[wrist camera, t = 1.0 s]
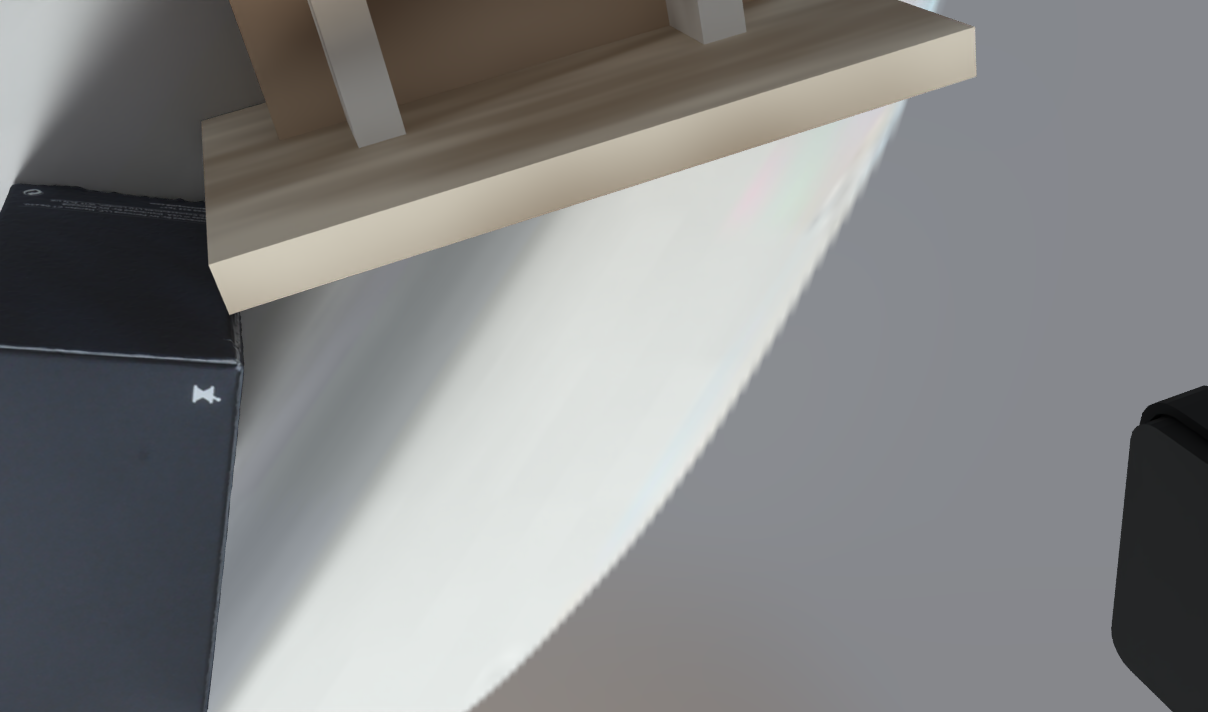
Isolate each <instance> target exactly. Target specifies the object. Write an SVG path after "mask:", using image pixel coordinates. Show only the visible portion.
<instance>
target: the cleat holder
mask: <svg viewBox="0 0 1208 712" xmlns="http://www.w3.org/2000/svg"><path fill="white" fill-rule="evenodd" d="M229 2H230V5H231V8H232V10H233V13H234V16H235V19H236V21H237V24H238V27H239V30H240V32H241V35H242V38H243V41H244V43H245V46H246V49H247V52H248V55H249V57H250V60H251V63H252V66H253V68H254V71H255V74H256V77H257V79H258V82H259V85H260V88H261V90H262V93H263V96H264V99H265V101H266V102H265V103H262V104H259V105H255V106H252V107H248V108H245V109H241V110H238V111H234V112H231V113H227V114H224V115H220V116H217V117H214V118H210V119H207V120H203V121H201V127H202V146H203V166H204V186H205V206H206V225H207V245H208V265H209V267H210V270H211V272H212V274H213V277H214V279H215V281H216V284H217V286H218V289H219V291H220V293H221V296H222V298H223V301H224V303H225V305H226V308H227V310H228V312H229V315H230V314H233V313H237V312H240V311H243V310H246V309H249V308H252V307H255V306H259V305H262V304H265V303H268V302H271V301H274V300H277V299H281V298H284V297H287V296H290V295H293V294H296V293H299V292H302V291H306V290H309V289H312V288H315V287H318V286H321V285H324V284H328V283H331V282H334V281H337V280H340V279H343V278H346V277H349V276H353V275H356V274H359V273H362V272H365V271H368V270H371V269H375V268H378V267H381V266H384V265H387V264H390V263H393V262H396V261H400V260H403V259H406V258H409V257H412V256H415V255H418V254H422V253H425V252H428V251H431V250H434V249H437V248H440V247H444V246H447V245H450V244H453V243H456V242H459V241H462V240H465V239H469V238H472V237H475V236H478V235H481V234H484V233H487V232H491V231H494V230H497V229H500V228H503V227H506V226H509V225H512V224H516V223H519V222H522V221H525V220H528V219H531V218H534V217H538V216H541V215H544V214H547V213H550V212H553V211H556V210H559V209H563V208H566V207H569V206H572V205H575V204H578V203H581V202H585V201H588V200H591V199H594V198H597V197H600V196H603V195H607V194H610V193H613V192H616V191H619V190H622V189H625V188H628V187H632V186H635V185H638V184H641V183H644V182H647V181H650V180H654V179H657V178H660V177H663V176H666V175H669V174H672V173H675V172H679V171H682V170H685V169H688V168H691V167H694V166H697V165H701V164H704V163H707V162H710V161H713V160H716V159H719V158H722V157H726V156H729V155H732V154H735V153H738V152H741V151H744V150H748V149H751V148H754V147H757V146H760V145H763V144H766V143H770V142H773V141H776V140H779V139H782V138H785V137H788V136H791V135H795V134H798V133H801V132H804V131H807V130H810V129H813V128H817V127H820V126H823V125H826V124H829V123H832V122H835V121H838V120H842V119H845V118H848V117H851V116H854V115H857V114H860V113H864V112H867V111H870V110H873V109H876V108H879V107H882V106H886V105H889V104H892V103H895V102H898V101H901V100H904V99H907V98H911V97H914V96H917V95H920V94H923V93H926V92H929V91H932V90H936V89H939V88H942V87H945V86H948V85H951V84H954V83H958V82H961V81H964V80H967V79H970V78H973V77H976V51H975V50H976V48H975V27H973V26H971V25H968V24H965V23H962V22H959V21H956V20H953V19H951V18H948V17H945V16H942V15H939V14H936V13H933V12H931V11H928V10H925V9H922V8H919V7H916V6H913V5H910V4H907V3H905V2H902V1H899V0H229Z"/></svg>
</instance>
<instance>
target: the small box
mask: <svg viewBox="0 0 1208 712" xmlns="http://www.w3.org/2000/svg"><path fill="white" fill-rule="evenodd" d="M240 320H241V316H240V312H237V313H233V314H230V315H229V312H228V310H227V308H226V305H225V303H224V301H223V298H222V296H221V293H220V291H219V289H218V286H217V284H216V281H215V279H214V277H213V274H212V272H211V270H210V267H209V265H208V245H207V225H206V206H205V201H200V202H188V201H184V200H182V199H176V200H169V199H160V198H150V197H147V196H132V195H123V194H119V193H116V192H111V193H106V192H98V191H89V190H86V189H84V188H81V187H70V186H56V185H53V186H47V185H38V186H37V185H28V184H14V185H12V186H11V188H10V191H9V193H8V195H7V198H6V200H5V203H4V205H3V207H2V210H1V212H0V712H207V709H208V701H209V693H210V685H211V676H212V667H213V659H214V650H215V640H216V629H217V622H218V611H219V604H220V595H221V584H222V576H223V568H224V558H225V547H226V540H227V531H228V518H229V508H230V496H231V490H232V482H233V470H234V463H235V456H236V444H237V436H238V422H239V416H240V403H241V395H242V384H243V376H244V360H243V343H242V336H241V331H242V328H241V322H240Z"/></svg>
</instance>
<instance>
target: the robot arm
mask: <svg viewBox="0 0 1208 712" xmlns="http://www.w3.org/2000/svg"><path fill="white" fill-rule="evenodd" d="M1129 450H1130V451H1129V460H1128V469H1127V479H1126V489H1125V499H1124V509H1123V519H1122V529H1121V539H1120V549H1119V558H1118V568H1117V578H1116V588H1115V598H1114V609H1113V619H1112V627H1111V630H1112V639H1113V643H1114V646H1115V648H1116V650H1117V652H1118V654H1119V656H1120V658H1121V659H1122V661H1123V662H1124V663H1125V665H1126V666H1127V667H1128V668H1129V669H1130V670H1131V671H1132V672H1133V673H1134V674H1135V675H1136V676H1137V677H1138V678H1139V679H1140V680H1141V681H1142V682H1143V683H1144V684H1145V685H1146V686H1147V687H1148V688H1149V689H1150V690H1151V691H1152V692H1153V693H1154V694H1155V695H1156V696H1157V697H1158V698H1159V699H1160V700H1161V701H1162V702H1163V703H1164V704H1165V705H1166V706H1167V707H1168V708H1169V709H1170V710H1171V711H1173V712H1208V386H1201V387H1199V388H1196V389H1193V390H1190V391H1187V392H1184V393H1182V394H1179V395H1176V396H1173V397H1171V398H1168V399H1165V400H1162V401H1159V402H1157V403H1154V404H1152V405H1149V406H1148V407H1147V408H1146V409H1145V411H1144V412H1143V413H1142V417H1141V421H1140V425H1139V426H1137V427H1136V428H1135V429H1134V431H1133V432H1132V436H1131V439H1130V449H1129Z"/></svg>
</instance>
